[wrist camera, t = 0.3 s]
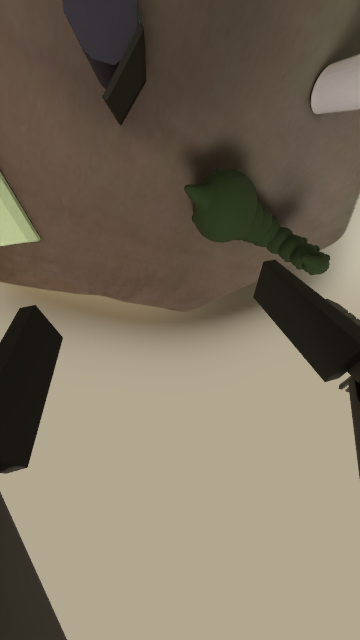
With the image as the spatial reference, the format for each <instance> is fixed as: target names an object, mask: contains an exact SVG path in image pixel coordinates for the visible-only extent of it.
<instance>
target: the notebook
mask: <svg viewBox="0 0 360 640" xmlns="http://www.w3.org/2000/svg"><path fill="white" fill-rule="evenodd" d="M40 240H41V238H40V237H39V235H38V233H37V232H36V230H35V228H34V227H33V225H32V223H31V222H30V220H29V218H28V217H27V215H26V213H25V212H24V210H23V208H22V207H21V205H20V203H19V202H18V200H17V198H16V197H15V195H14V193H13V192H12V190H11V188H10V187H9V185H8V183H7V182H6V180H5V178H4V176H3V175H2V173H1V171H0V246H4V245H11V244H18V243H24V242H36V241H40Z"/></svg>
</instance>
